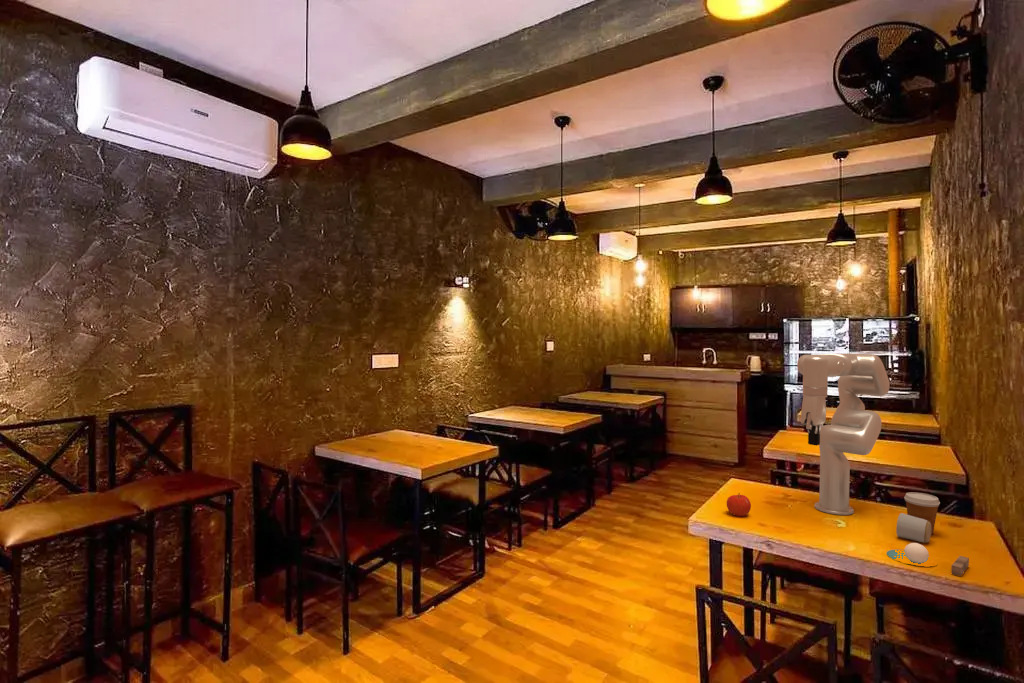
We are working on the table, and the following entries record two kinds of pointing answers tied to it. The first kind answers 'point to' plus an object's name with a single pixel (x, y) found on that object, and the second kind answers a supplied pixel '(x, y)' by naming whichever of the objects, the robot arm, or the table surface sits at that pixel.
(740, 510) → the apple
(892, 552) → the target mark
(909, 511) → the disposable coffee cup
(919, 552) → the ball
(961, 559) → the strip
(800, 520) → the table surface
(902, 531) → the grey cylinder
